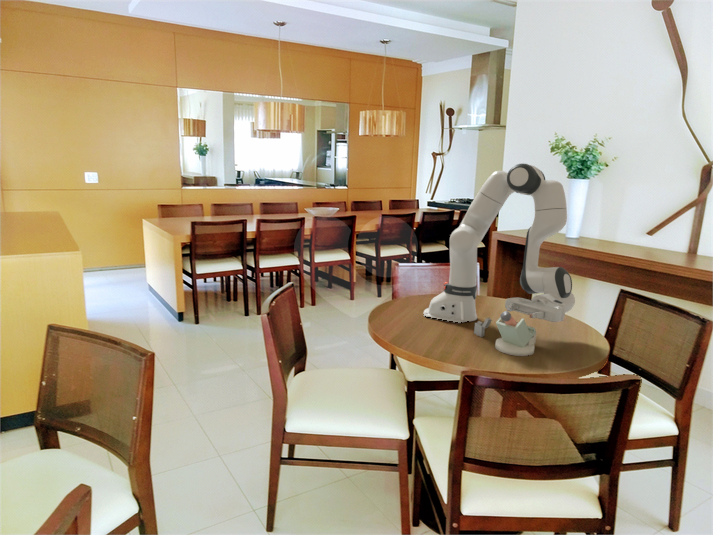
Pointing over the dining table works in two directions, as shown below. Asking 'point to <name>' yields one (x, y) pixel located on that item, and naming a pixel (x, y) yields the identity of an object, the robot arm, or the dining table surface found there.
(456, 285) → the robot arm
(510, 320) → the marker
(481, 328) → the lighter
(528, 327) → the green holder stand
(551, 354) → the dining table surface
